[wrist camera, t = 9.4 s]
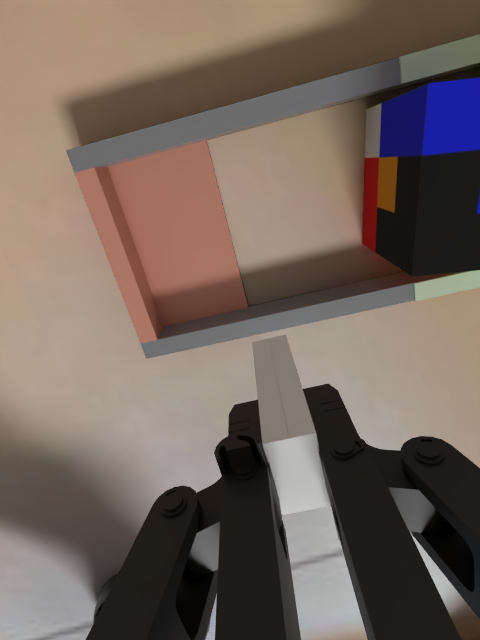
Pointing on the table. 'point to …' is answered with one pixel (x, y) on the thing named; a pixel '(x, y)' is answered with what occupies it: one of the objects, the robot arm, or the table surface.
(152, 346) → the trap box
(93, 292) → the table surface
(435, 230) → the puzzle toy
